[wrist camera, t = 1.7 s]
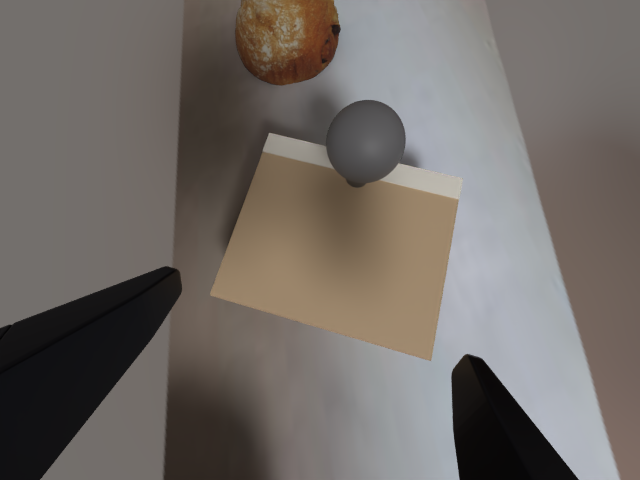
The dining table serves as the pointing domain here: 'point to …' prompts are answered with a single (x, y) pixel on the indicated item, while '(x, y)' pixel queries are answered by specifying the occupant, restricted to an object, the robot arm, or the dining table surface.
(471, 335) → the dining table surface
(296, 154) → the lid
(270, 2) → the bread roll
